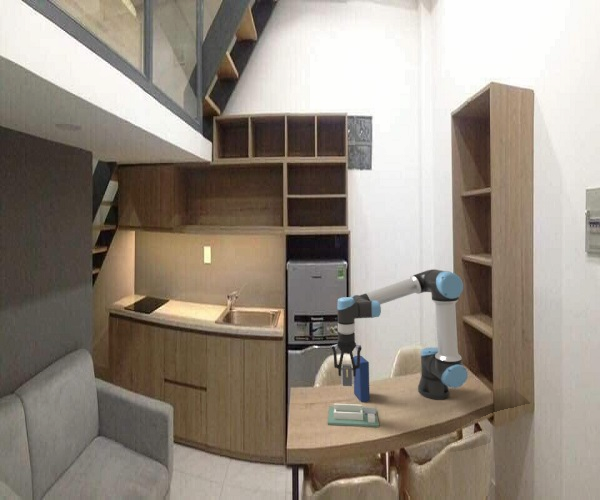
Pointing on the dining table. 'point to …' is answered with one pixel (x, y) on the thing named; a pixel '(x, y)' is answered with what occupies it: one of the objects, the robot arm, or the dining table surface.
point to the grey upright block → (347, 375)
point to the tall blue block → (362, 380)
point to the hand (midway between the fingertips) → (347, 382)
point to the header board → (352, 415)
